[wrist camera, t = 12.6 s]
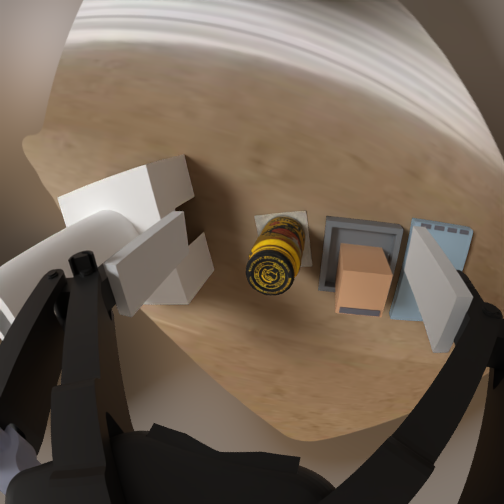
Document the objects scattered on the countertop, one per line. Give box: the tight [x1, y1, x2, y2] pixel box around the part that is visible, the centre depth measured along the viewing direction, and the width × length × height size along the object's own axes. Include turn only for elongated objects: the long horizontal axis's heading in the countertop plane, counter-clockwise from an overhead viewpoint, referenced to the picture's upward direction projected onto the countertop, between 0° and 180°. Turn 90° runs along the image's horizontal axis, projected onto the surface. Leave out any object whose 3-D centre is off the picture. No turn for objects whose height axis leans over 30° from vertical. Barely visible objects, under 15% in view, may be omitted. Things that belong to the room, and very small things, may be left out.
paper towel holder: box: [0, 154, 214, 341], centre depth 32 cm, size 19×19×30 cm
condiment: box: [246, 211, 312, 295], centre depth 36 cm, size 7×8×12 cm
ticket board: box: [389, 218, 473, 321], centre depth 36 cm, size 16×10×2 cm, turn 0°
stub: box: [335, 243, 393, 317], centre depth 35 cm, size 6×6×8 cm
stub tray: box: [318, 216, 403, 297], centre depth 38 cm, size 11×11×2 cm
